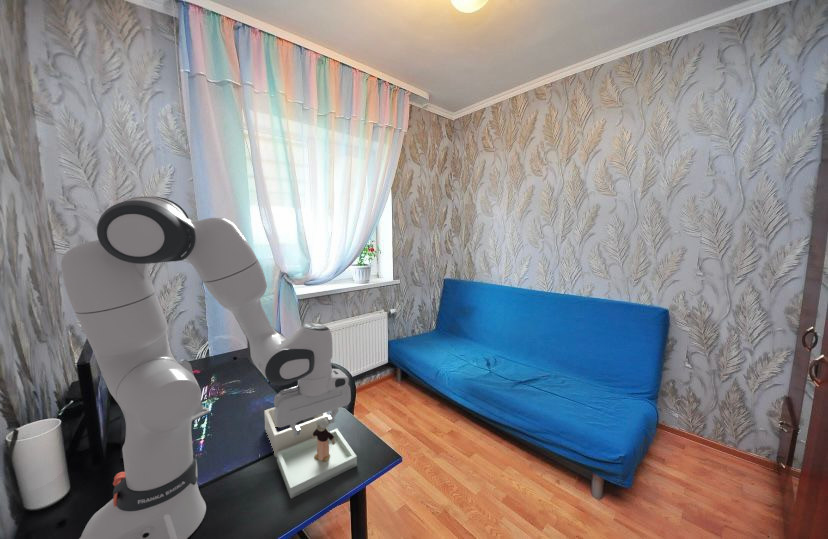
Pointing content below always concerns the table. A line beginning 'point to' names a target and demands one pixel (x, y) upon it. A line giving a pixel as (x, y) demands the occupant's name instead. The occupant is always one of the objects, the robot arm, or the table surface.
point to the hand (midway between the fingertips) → (314, 428)
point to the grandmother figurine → (322, 440)
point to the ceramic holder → (288, 432)
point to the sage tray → (314, 463)
